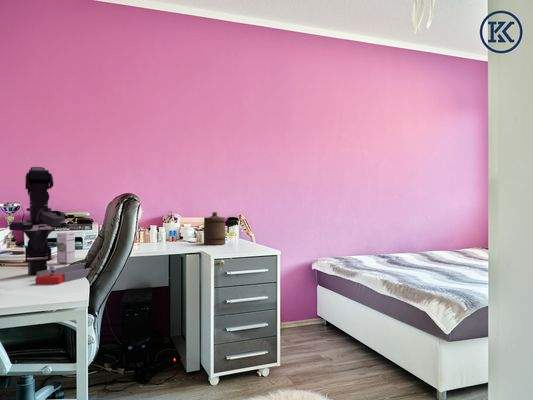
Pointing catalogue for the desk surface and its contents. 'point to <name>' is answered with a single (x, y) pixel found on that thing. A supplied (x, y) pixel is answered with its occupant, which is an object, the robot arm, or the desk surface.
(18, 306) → the desk surface
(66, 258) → the syrup box
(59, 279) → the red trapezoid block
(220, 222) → the wooden container
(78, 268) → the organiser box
